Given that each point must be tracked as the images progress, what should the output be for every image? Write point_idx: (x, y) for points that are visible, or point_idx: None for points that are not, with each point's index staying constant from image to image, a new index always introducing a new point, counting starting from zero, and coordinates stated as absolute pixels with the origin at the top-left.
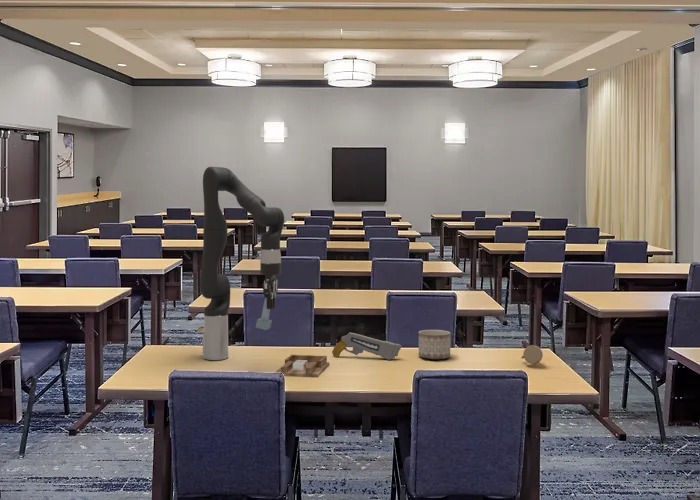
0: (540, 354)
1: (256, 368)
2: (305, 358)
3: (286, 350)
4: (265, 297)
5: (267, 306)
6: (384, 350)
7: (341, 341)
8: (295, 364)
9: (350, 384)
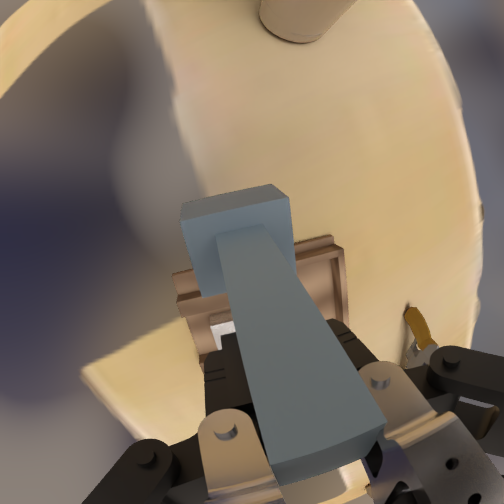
0: (370, 496)
1: (233, 172)
2: (337, 291)
3: (448, 159)
4: (137, 453)
5: (204, 364)
6: None
7: (429, 340)
8: (212, 332)
9: (185, 433)
